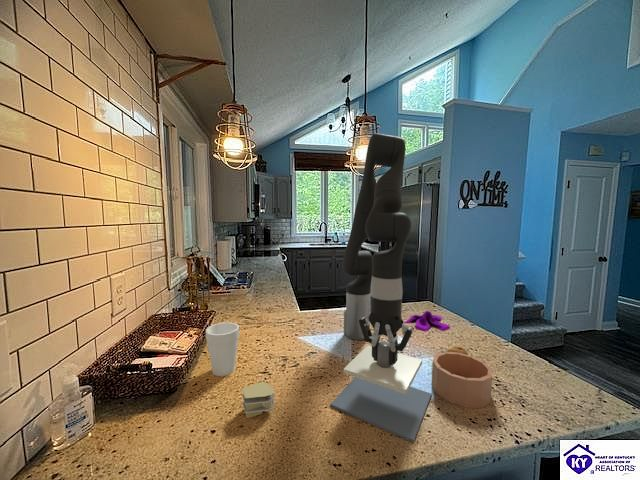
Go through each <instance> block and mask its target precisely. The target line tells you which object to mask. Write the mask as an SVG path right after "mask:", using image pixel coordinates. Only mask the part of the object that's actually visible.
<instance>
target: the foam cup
mask: <svg viewBox="0 0 640 480" xmlns="http://www.w3.org/2000/svg"><path fill="white" fill-rule="evenodd" d="M205 329H206V330H205V340H206V343H207V349H208V353H209V354H208V355H209V359H210V366H211V371H212V374H213V375H214V376H217V377H224V376H225V377H226V376H229V375H230V374H232V373H233V372H234V371H235V367H236V361H237V353H238V352H237V351H238V346H239V345H238V344H239V336H240V325H239V324H237V323H235V322H220V323H219V322H218V323H215V324H212V325H209V326H208V327H206V328H205Z"/></svg>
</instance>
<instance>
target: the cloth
mask: <svg viewBox="0 0 640 480" xmlns="http://www.w3.org/2000/svg"><path fill="white" fill-rule="evenodd" d="M442 320H443V317H442V316H440V315H437V314H436V315H435V314H432V312H431V311H428V310H425V312H423V314H421V315H419V314H414V315H411V316H410V317H409V318H408V319H407V320H406V321H405V323H406V324H411V323H413V322H415V325H414V329H417V330H420V331H421V332H422V331H423V332H428V330H430V329H431V326H432V327H435V328H437V329H438V330H439V331H441V332H443V331H446V330H448V329H450V328H451V326H450V325H448V324H446V323H443V322H441V321H442Z"/></svg>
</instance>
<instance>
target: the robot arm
mask: <svg viewBox="0 0 640 480" xmlns="http://www.w3.org/2000/svg"><path fill="white" fill-rule="evenodd" d="M405 158H406V141H405V140H404V138H403V137H400V136H396V135H390V134H389V135H388V134H383V133H377V132H376V133H373V134H372V135H371V137H370V138H369V142H368V146H367V150H366V156H365V161H364V169H363V175H362V181H361V185H360V188H359V189H360V190H359V193H358V197H357V201H356V205H355V209H354V215H353V219H352V220H353V221H352V224H351V225H352V226H351V229H350V233H349V234H350V235H349V237H348V241H347V244H346V247H345V251H344V253H343V257H342V263H341V264H342V265H341V266H342V271H343V273H344V274H345V275H346V276H357V278H355V279H354V280H352V281H351V282H349V283H347V284H346V287H345V288H346V292H345V293H346V295H345V297H346V298H345V299H346V301H345V302H346V304H345V305H346V306H345V310H344V311H343V336H345V337H347V338H349V339H352V340H357V341H358V340H359V341H360V340H361V341H362V340H364V341H365V343H369V344H370V346H372V358H374V361H377V344H378V343H379V342H381V341H380V340H381V336H385V337H387V341H388V343H390V348H391V350H390V361H389V365H391V366H393V365H394V364H395V363H396V362H397V356H398V353H399V352H403V351H404V349H405V348H407V345H408V342H409V341H410V339H411V337H412V335H413V332H414V331H415V327H413V326H409V325H407V324H405V323H404V320H403V318H402V313H403V312H402V309H403V307H402V305H403V294H404V293H403V292H404V291H403V280H402V275H403V274H402V270H403V256H404V252H405V248H406V244H407V241H408V240H409V237H410V234H411V230H412V220H411V218H410V216H409V215H408V214H406V213H405V212H400V211H401V209H402V206H403V202H402V180H403V173H404V165H405ZM376 166H378V167H379V166H380V167H386V168H389V169H388V170H387V171H386V172H385V173H384V174H382V175H381V176H380V177H379V178H378V180H377V181H376V175H375V167H376ZM368 239H369V240H370V241H371V242H381V243H382V242H383V243H384V242H385V243H394V244H393V246H392V247H391V248H389V249H386V250H381V251H376V252H375V253H373V255H372V253H371V252H370V251H369V250H361V247H362V245H363V244H364V243H365V242H366V240H368ZM370 326H371V327H372V329H373V332H372V330H371V328H370ZM400 329H401V333H402V335H403V336H402V339H401V341H400V343H399V341H398V340H399V339H398V332H399V330H400ZM372 333H373V334H372Z"/></svg>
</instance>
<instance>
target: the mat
mask: <svg viewBox="0 0 640 480" xmlns="http://www.w3.org/2000/svg"><path fill="white" fill-rule="evenodd" d="M353 377H354V376H353ZM431 398H432V393H431V392H428V391H425V390H422V389H420V388H417V387H412V386H410V387H409V389H408V391H407V393H406V394H403V393H400V392H397V391H394V390H391V389H388V388H386V387H383V386H380V385H377V384H374V383H371V382H368V381H365V380H362V379H360V378H357V377H354V378H352V379H351V381H350V382H349V383H348V384H347V385H346V386H345V387H344V388H343V389H342V391H341V392H340V393H339V394H338V395H337V396H336V397H335V398H334V399H333V401H331V403H330V405H329V406H330V407H331V408H334V409H336V410H338V411H340V412H343V413H345V414H347V415H349V416H352V417H353V418H357V419H359V420H361V421H363V422H366V423H368V424H370V425H372V426H375V427H377V428H379V429H382V430H384V431H386V432H388V433H390V434H393V435H395V436H397V437H399V438H402V439H404V440H407V441H409V442H412V443H414V442H415V440H416V437H417V435H418V432H419V429H420V427H421V424H422V422H423V419H424V417H425V413H426V410H427V409H428V405H429V403H430V401H431Z"/></svg>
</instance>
